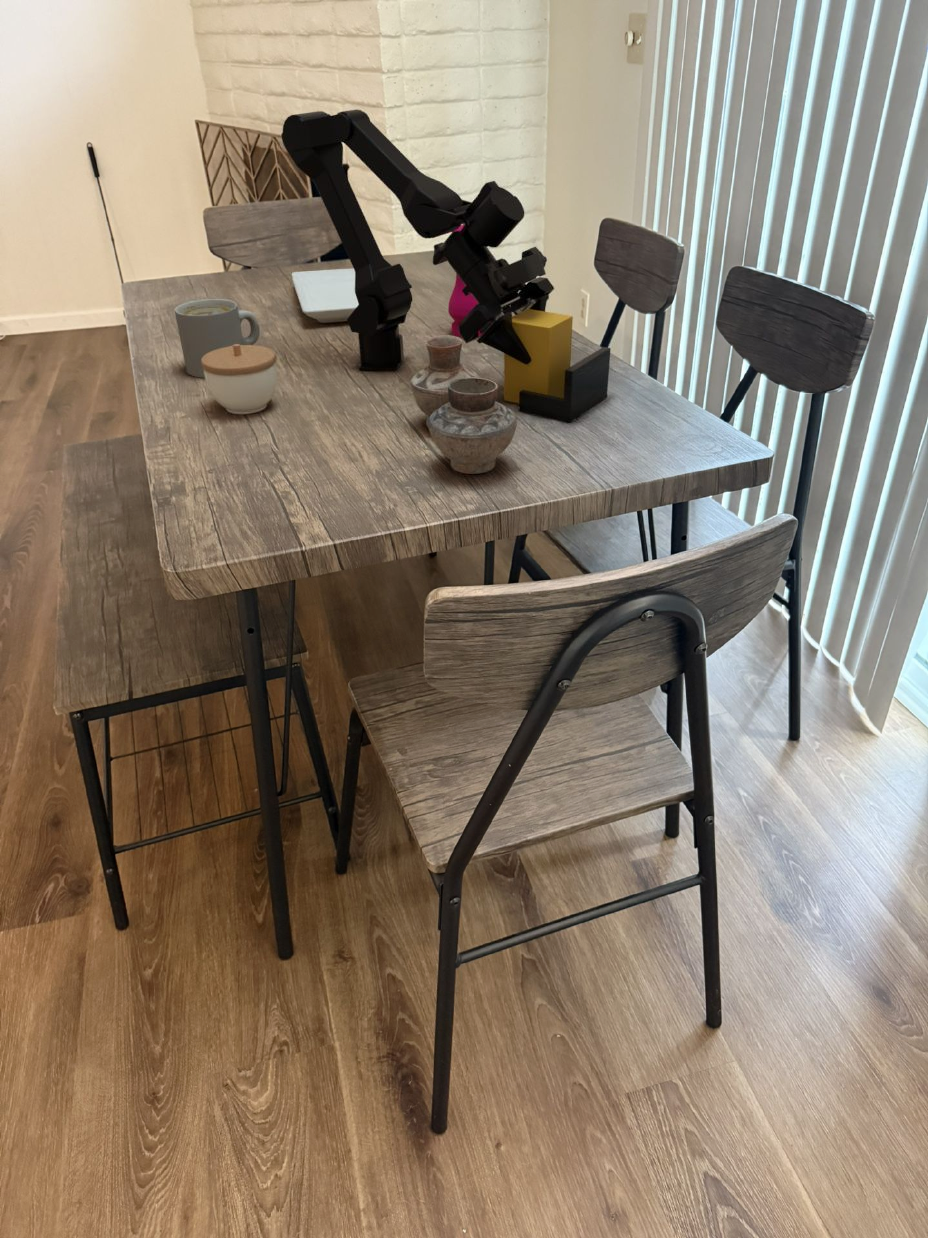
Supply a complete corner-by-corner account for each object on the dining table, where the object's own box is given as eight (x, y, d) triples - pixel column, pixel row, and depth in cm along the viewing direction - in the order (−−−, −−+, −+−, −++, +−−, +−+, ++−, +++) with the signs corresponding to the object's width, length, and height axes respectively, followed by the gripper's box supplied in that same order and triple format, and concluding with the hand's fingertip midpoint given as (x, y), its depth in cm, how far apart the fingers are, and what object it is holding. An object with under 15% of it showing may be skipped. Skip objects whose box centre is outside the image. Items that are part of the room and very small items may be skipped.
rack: (518, 411, 131) (519, 360, 127) (557, 386, 139) (559, 338, 135) (569, 422, 127) (572, 371, 123) (607, 397, 135) (610, 347, 131)
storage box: (503, 400, 135) (503, 319, 128) (526, 386, 140) (527, 308, 133) (547, 409, 131) (549, 327, 125) (569, 395, 136) (572, 315, 129)
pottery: (473, 407, 133) (472, 326, 126) (528, 477, 113) (530, 385, 106) (399, 416, 130) (394, 334, 124) (441, 489, 111) (438, 396, 104)
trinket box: (220, 425, 129) (209, 361, 124) (202, 402, 137) (190, 340, 131) (291, 411, 133) (283, 348, 128) (270, 389, 141) (261, 329, 135)
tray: (369, 281, 195) (368, 265, 193) (394, 322, 169) (392, 303, 167) (292, 288, 192) (289, 271, 190) (304, 330, 166) (302, 311, 164)
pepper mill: (442, 336, 161) (438, 217, 150) (458, 325, 167) (455, 209, 156) (479, 340, 159) (478, 220, 148) (494, 329, 165) (494, 211, 153)
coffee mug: (193, 381, 144) (181, 318, 139) (181, 363, 152) (168, 303, 146) (274, 368, 149) (265, 307, 143) (257, 351, 157) (249, 292, 151)
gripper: (474, 243, 118) (544, 339, 119) (544, 218, 131) (607, 306, 132) (429, 296, 126) (495, 386, 127) (499, 268, 139) (558, 350, 140)
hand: (541, 355), depth 131 cm, fingers closed on storage box, 7 cm apart
